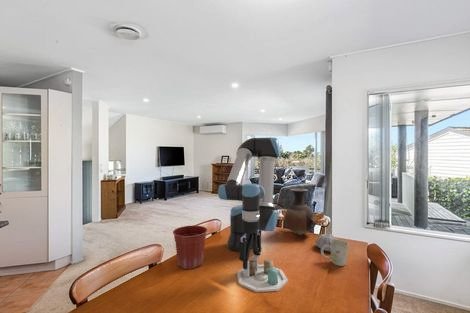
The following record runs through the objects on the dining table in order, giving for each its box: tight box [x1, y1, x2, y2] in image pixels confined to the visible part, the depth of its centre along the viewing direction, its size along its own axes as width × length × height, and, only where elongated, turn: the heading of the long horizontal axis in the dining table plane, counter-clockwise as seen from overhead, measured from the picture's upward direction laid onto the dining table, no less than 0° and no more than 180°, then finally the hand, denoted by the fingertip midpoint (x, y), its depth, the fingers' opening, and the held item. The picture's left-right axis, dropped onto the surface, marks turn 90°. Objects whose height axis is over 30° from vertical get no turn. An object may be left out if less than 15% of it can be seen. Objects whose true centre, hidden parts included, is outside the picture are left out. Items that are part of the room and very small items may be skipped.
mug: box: [320, 239, 350, 267], centre depth 115 cm, size 8×13×10 cm, turn 78°
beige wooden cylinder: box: [263, 258, 274, 275], centre depth 103 cm, size 4×4×5 cm
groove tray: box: [236, 263, 289, 293], centre depth 99 cm, size 20×20×2 cm
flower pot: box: [172, 225, 208, 270], centre depth 114 cm, size 16×16×16 cm
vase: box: [284, 188, 316, 236], centre depth 154 cm, size 23×19×30 cm
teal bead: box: [268, 267, 278, 285], centre depth 95 cm, size 4×4×5 cm
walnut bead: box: [248, 259, 255, 276], centre depth 102 cm, size 4×4×5 cm
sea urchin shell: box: [315, 233, 339, 253], centre depth 132 cm, size 13×14×8 cm
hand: (250, 272), depth 102 cm, fingers open, 6 cm apart
